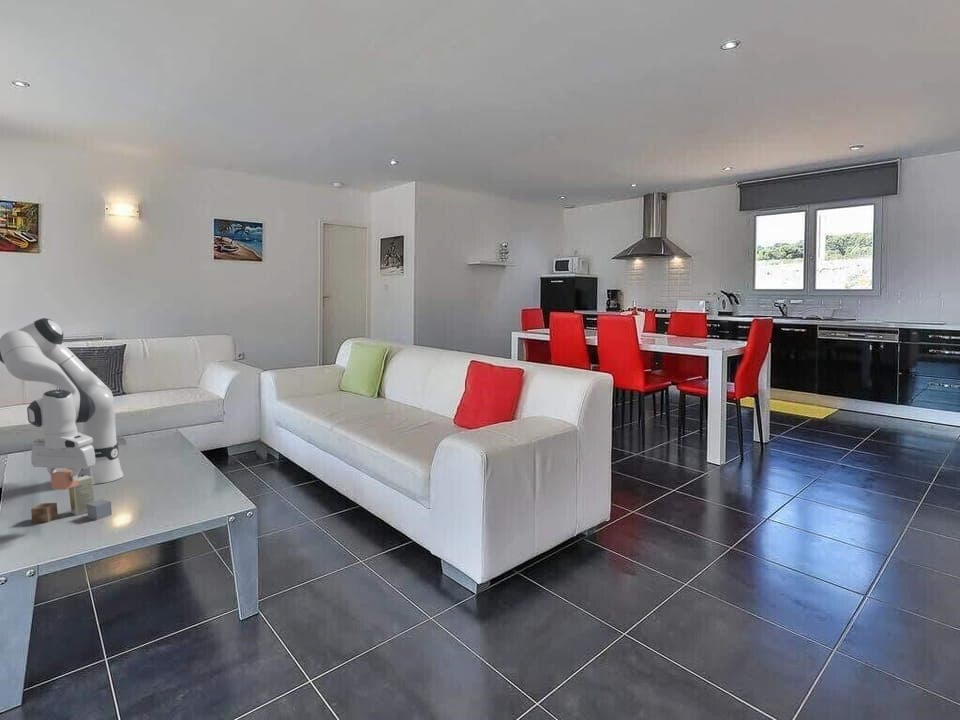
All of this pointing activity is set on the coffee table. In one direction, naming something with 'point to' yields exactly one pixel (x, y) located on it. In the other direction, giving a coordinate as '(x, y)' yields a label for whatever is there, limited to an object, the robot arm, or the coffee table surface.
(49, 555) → the coffee table surface
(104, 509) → the slate cube
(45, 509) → the walnut cube
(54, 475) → the terracotta cube
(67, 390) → the robot arm
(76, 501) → the skincare box
